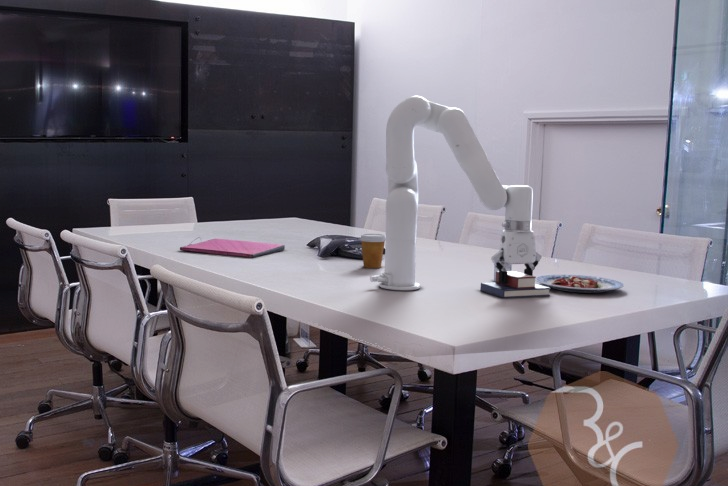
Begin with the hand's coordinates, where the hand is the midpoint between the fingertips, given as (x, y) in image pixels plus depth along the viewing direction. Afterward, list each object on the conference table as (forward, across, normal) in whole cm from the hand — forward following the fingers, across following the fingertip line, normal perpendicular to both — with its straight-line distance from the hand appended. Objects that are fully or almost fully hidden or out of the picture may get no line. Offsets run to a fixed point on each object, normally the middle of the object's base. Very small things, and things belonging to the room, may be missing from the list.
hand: (515, 282), depth 234 cm
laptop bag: (+3, -62, +112) cm, 128 cm away
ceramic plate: (+3, +25, +3) cm, 25 cm away
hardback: (+3, 0, 0) cm, 3 cm away
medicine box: (+3, +7, +17) cm, 19 cm away
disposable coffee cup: (+3, -21, +57) cm, 61 cm away
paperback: (+1, 0, 0) cm, 1 cm away
